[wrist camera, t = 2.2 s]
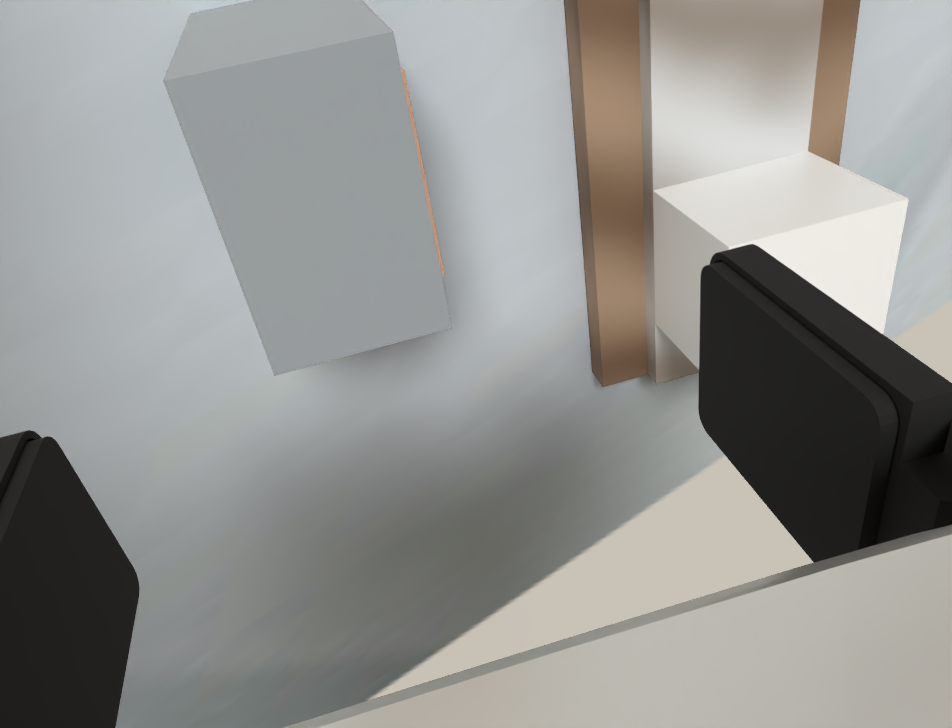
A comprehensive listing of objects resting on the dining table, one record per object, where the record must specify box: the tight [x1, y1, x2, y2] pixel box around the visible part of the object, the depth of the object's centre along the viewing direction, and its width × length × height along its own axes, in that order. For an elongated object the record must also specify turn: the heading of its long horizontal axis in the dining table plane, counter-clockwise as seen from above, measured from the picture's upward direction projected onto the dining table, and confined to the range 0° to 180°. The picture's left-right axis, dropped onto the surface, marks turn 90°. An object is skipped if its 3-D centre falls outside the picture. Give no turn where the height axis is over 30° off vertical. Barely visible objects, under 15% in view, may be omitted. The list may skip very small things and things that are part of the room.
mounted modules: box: [653, 151, 909, 370], centre depth 21 cm, size 22×6×5 cm, turn 9°
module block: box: [164, 0, 452, 376], centre depth 20 cm, size 7×5×9 cm
